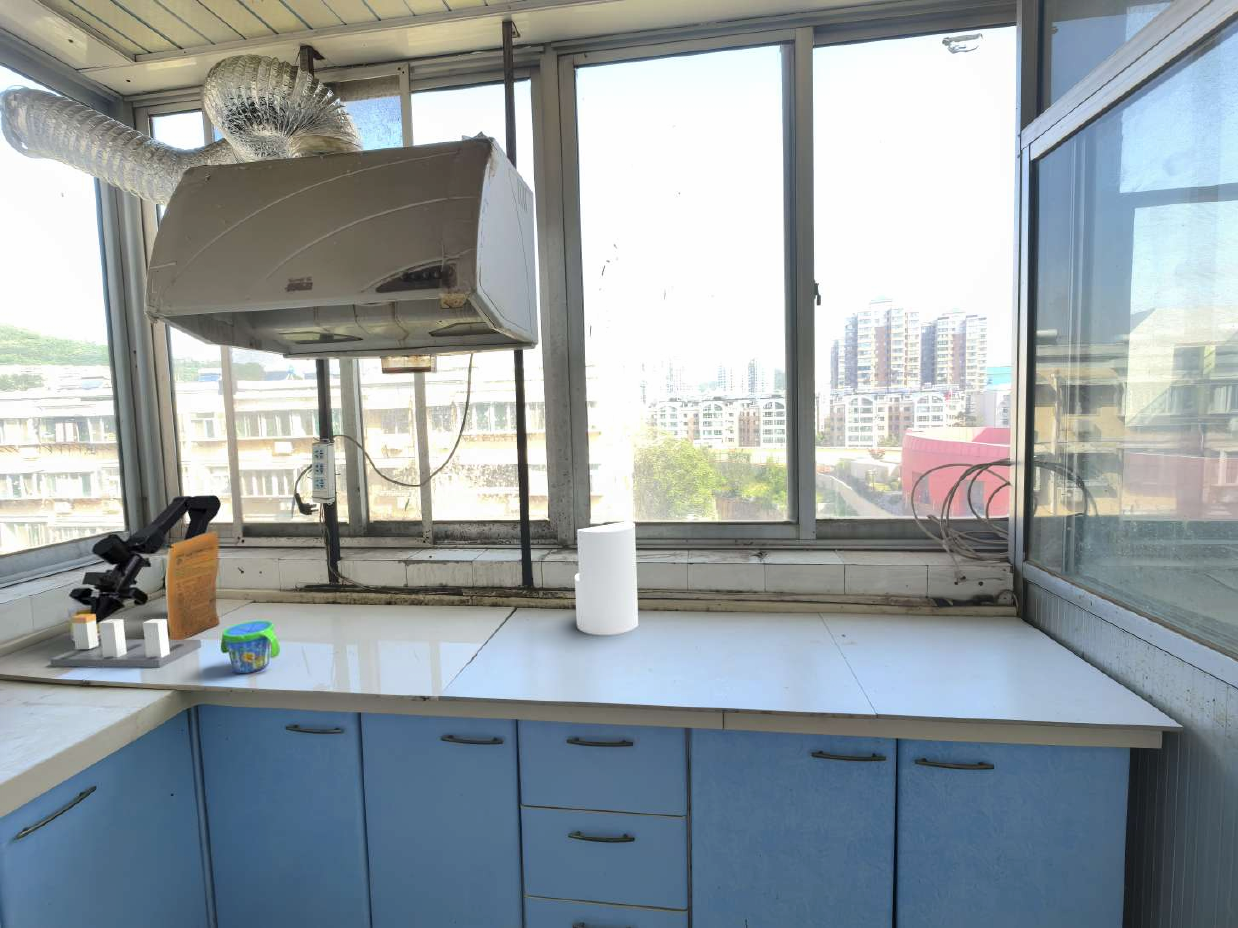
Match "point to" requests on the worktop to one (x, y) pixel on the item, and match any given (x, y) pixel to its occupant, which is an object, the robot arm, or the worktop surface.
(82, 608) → the supplement bottle
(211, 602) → the pancake mix bag
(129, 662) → the grey plate with uprights
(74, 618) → the block
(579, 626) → the cylinder
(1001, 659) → the worktop surface
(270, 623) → the snack cup
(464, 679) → the worktop surface
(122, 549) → the robot arm
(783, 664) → the worktop surface
